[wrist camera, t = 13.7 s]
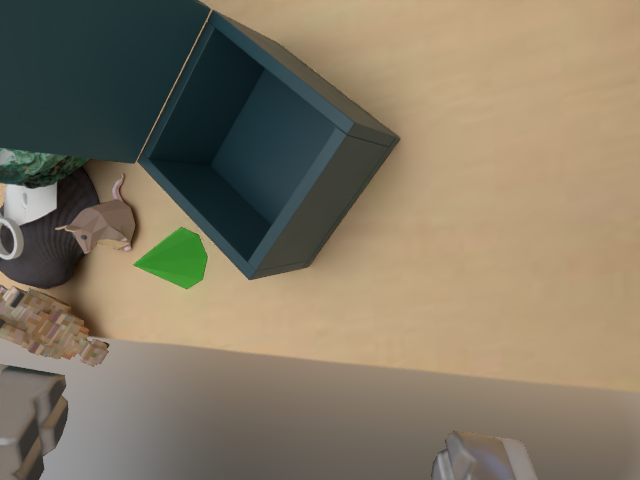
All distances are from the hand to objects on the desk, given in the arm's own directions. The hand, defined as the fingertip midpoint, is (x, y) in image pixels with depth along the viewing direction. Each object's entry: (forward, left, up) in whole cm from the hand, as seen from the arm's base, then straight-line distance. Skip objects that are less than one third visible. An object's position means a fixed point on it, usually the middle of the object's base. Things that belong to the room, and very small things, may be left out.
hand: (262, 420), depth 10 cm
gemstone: (+26, -10, -26) cm, 39 cm away
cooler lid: (+15, -20, -10) cm, 27 cm away
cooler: (+11, -14, -26) cm, 32 cm away
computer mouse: (+40, -23, -23) cm, 52 cm away
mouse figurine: (+33, -17, -26) cm, 45 cm away
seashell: (+46, -19, -27) cm, 57 cm away
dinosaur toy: (+46, -13, -19) cm, 51 cm away
